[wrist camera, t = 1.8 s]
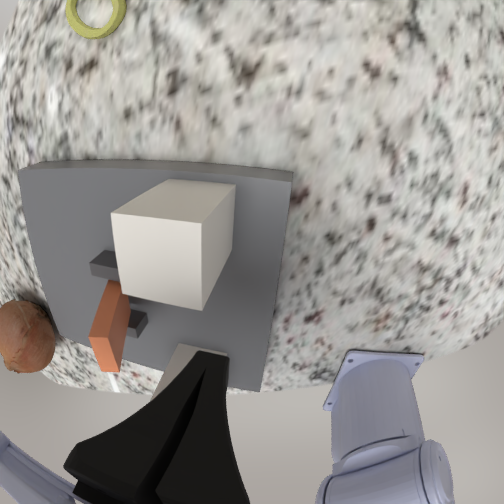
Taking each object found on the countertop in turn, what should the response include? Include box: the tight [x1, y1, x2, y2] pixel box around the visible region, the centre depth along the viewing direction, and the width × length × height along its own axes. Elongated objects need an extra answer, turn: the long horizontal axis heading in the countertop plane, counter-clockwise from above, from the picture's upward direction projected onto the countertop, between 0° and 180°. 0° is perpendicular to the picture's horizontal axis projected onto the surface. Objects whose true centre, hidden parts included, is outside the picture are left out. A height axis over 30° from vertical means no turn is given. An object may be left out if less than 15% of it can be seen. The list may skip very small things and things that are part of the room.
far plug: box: [151, 343, 227, 400], centre depth 20 cm, size 4×4×6 cm
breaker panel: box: [18, 160, 293, 392], centre depth 21 cm, size 18×22×5 cm
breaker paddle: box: [88, 280, 131, 372], centre depth 17 cm, size 3×1×6 cm, turn 176°
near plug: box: [111, 179, 236, 311], centre depth 14 cm, size 4×4×6 cm
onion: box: [0, 299, 55, 373], centre depth 26 cm, size 10×9×10 cm
